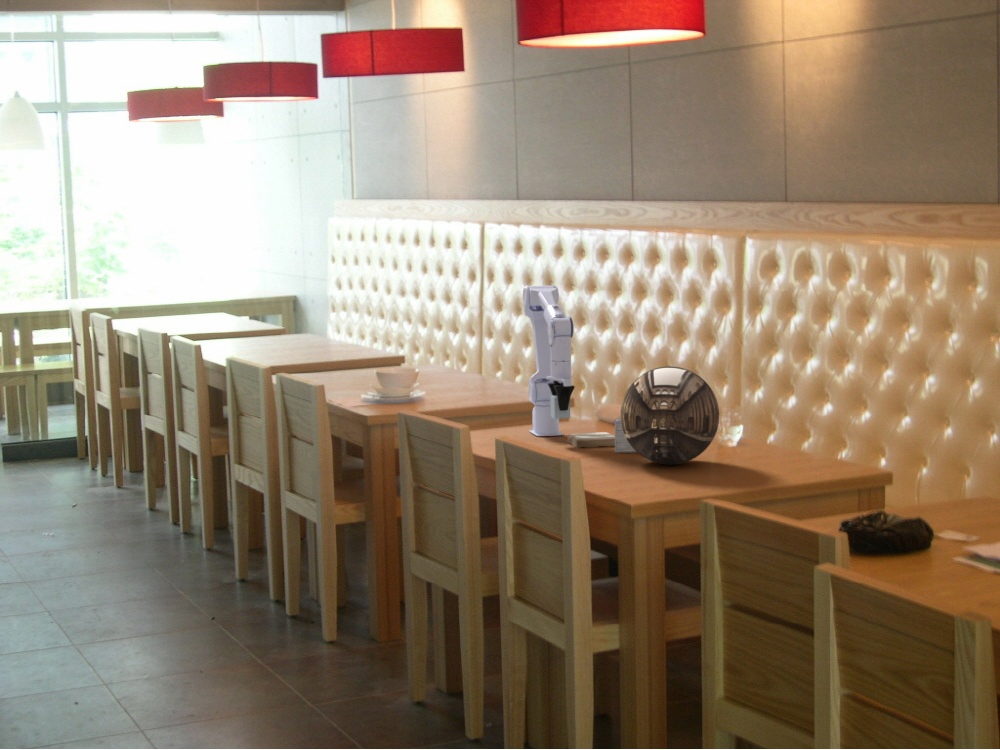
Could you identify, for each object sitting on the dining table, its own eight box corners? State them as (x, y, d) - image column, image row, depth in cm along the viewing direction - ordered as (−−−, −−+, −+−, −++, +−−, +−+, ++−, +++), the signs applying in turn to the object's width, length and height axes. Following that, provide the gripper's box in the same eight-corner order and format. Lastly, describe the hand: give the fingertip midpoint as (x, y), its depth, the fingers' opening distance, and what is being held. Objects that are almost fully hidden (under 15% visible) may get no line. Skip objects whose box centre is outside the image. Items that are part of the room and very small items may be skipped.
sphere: (723, 456, 340) (724, 362, 337) (713, 474, 316) (713, 373, 313) (629, 453, 347) (629, 360, 344) (612, 470, 323) (612, 371, 320)
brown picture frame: (567, 442, 366) (567, 433, 365) (608, 440, 368) (608, 431, 368) (577, 448, 356) (577, 439, 356) (619, 445, 359) (619, 436, 358)
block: (550, 416, 363) (550, 395, 363) (566, 415, 364) (565, 394, 364) (554, 418, 359) (554, 397, 358) (570, 418, 360) (570, 396, 359)
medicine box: (644, 450, 352) (644, 418, 351) (644, 453, 347) (644, 421, 346) (614, 450, 353) (614, 418, 352) (614, 452, 348) (614, 421, 347)
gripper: (540, 358, 366) (541, 406, 368) (553, 363, 352) (553, 413, 354) (564, 357, 368) (565, 405, 369) (578, 362, 354) (578, 412, 355)
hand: (561, 409), depth 361 cm, fingers closed on block, 4 cm apart
